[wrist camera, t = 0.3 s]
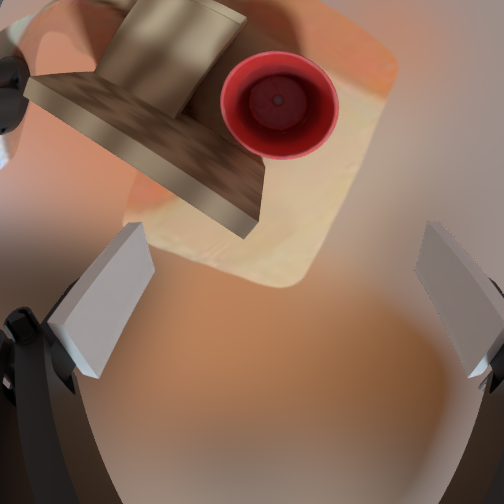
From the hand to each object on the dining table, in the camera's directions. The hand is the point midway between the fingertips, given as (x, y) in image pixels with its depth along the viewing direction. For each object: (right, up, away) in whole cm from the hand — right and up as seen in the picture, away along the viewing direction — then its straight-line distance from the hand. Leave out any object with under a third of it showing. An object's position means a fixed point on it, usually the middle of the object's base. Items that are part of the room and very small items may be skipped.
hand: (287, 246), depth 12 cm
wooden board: (-11, +17, +20) cm, 29 cm away
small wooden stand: (-11, +25, +15) cm, 31 cm away
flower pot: (+2, +18, +19) cm, 26 cm away
